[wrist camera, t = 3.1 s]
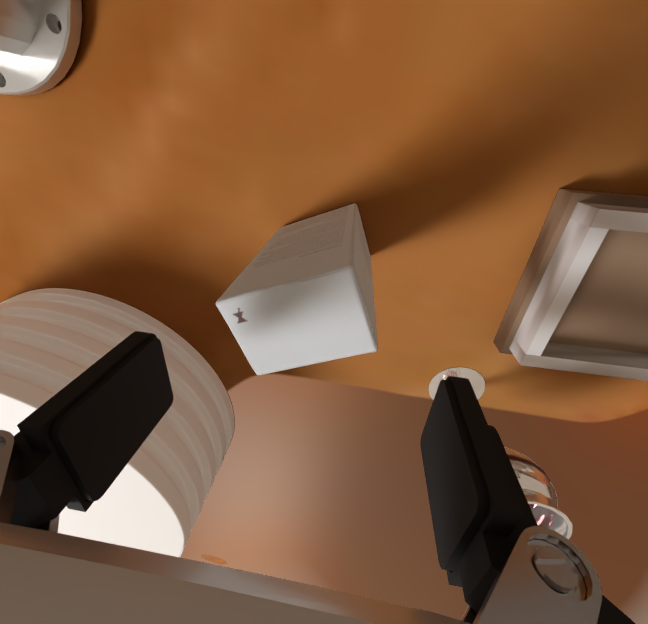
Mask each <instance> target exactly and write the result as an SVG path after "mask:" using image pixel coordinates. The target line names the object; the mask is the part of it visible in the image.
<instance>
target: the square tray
mask: <svg viewBox="0 0 648 624" xmlns="http://www.w3.org/2000/svg"><path fill="white" fill-rule="evenodd" d="M494 343H495V345H496V347H497V348H498V350H499V352H500V353H505V354H513V355H514V356H515V358H516V359H517V361H518V362H519V364H520V365H523V366H531V367H539V368H547V369H555V370H563V371H571V372H579V373H587V374H595V375H603V376H611V377H619V378H627V379H635V380H643V381H648V196H637V195H626V194H614V193H603V192H592V191H580V190H569V189H559V191H558V193H557V195H556V198H555V200H554V202H553V205H552V207H551V209H550V212H549V214H548V216H547V219H546V221H545V223H544V226H543V228H542V230H541V232H540V235H539V237H538V239H537V242H536V244H535V246H534V249H533V251H532V253H531V256H530V258H529V260H528V263H527V265H526V267H525V270H524V272H523V274H522V277H521V279H520V281H519V284H518V286H517V288H516V291H515V293H514V295H513V298H512V300H511V302H510V305H509V307H508V309H507V312H506V314H505V316H504V319H503V321H502V323H501V326H500V328H499V330H498V333H497V335H496V337H495V339H494Z"/></svg>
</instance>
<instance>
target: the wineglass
mask: <svg viewBox="0 0 648 624" xmlns="http://www.w3.org/2000/svg"><path fill="white" fill-rule="evenodd" d="M448 376H454V377H461V378H467V379H469V381H470V383H471V385H472V387H473V390H474V392H475V395H476V397H477V400H478V399H479V398H480V397H481V395H482V394H483V393H484V390H485V380H484V379H483V377H482V376H481V374H479V373H478V372H476V371H475V370H472V369H469V368H463V367H456V368H450V369H446V370H444V371H442V372H440V373H438V374H437V375H436V376H435V377H433V379H432V380H431V382H430V384H429V389H428V390H429V394H430V396H431V397H432V399H433V400H434V397H435V395H436V392H437V389H438V386H439V383H440V381H441V380H442V379H443V380H446V379H447V377H448ZM504 448H505V450H506V453H507V455H508V457H509V460H510V462H511V464H512V467H513V469H514V471H515V474H516V476H517V478H518V481H519V483H520V485H521V487H522V490H523V492H524V494H525V497H526V499H527V501H528V504H529V506H530V508H531V511H532V513H533V515H534V518H535V520H536V522H537V525H538V526H541V527H546V528H549V529H551V530H554V531H556V532H558V533H559V534H561V535H563V536H564V537H566V538H567V539H569V538H570V536H571V535H572V523H571V522H570V520H569V519H568V517H567V516H566V515H565V514H563V513H562V512H561V511H559V510H558V509H557V496H556V492H555V489H554V487H553V486H552V484H551V483H550V480H549V478H548V477H547V475H546V474H545V472H544V471H543V470H542V469H541V468H540V467H539V466H537V465H536V464H535V463H534V462H533V461H532V460H531V459H529V458H528V457H526V456H525V455H523V454H522V453H519V452H517V451H514V450H511V449H508V448H506V447H504Z"/></svg>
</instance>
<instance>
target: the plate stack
mask: <svg viewBox="0 0 648 624" xmlns="http://www.w3.org/2000/svg"><path fill="white" fill-rule="evenodd" d="M135 331H140V332H147V333H153V334H155V335H156V336H157V338H158V339H159V340H160V341H161V344H162V349H163V353H164V357H165V362H166V366H167V370H168V375H169V379H170V383H171V387H172V392H173V397H174V398H173V403H172V405H171V407H170V408H169V409H168V411H167V412H166V413H165V415H164V416H163V417H162V419H161V420H160V421H159V423H158V424H157V425H156V427H155V428H154V429H153V431H152V432H151V433H150V434H149V436H148V437H147V438H146V440H145V441H144V442H143V444H142V445H141V446H140V448H139V449H138V450H137V452H136V453H135V454H134V455H133V457H132V458H131V459H130V461H129V462H128V463H127V465H126V466H125V467H124V469H123V470H122V471H121V473H120V474H119V475H118V477H117V478H116V479H115V480H114V482H113V483H112V484H111V486H110V487H109V488H108V490H107V491H106V492H105V494H104V495H103V496H102V497H101V498H100V499H99V500H97V501H94V502H93V503H92V505H91V506H90V507H89V509H88V510H87V511H86V512H82V511H77V510H72V509H68V508H67V506H66V507H65V508H64V509H63V510H62V512H61V513H60V514H59V525H58V533H61V534H66V535H71V536H76V537H81V538H86V539H91V540H96V541H101V542H106V543H111V544H116V545H121V546H126V547H131V548H136V549H141V550H146V551H151V552H156V553H160V554H165V555H170V556H175V557H180V556H181V554H182V553H183V550H184V548H185V546H186V543H187V541H188V539H189V536H190V533H191V529H192V528H193V526H194V525H195V523H196V521H197V518H198V516H199V514H200V512H201V509H202V506H203V503H204V500H205V499H206V497H207V495H208V493H209V491H210V489H211V486H212V484H213V481H214V478H215V476H216V474H217V472H218V470H219V468H220V465H221V463H222V461H223V459H224V455H225V454H226V452H227V450H228V447H229V445H230V443H231V440H232V438H233V434H234V428H235V417H234V410H233V406H232V402H231V400H230V397H229V394H228V392H227V391H226V389H225V387H224V385H223V384H222V382H221V380H220V379H219V377H218V375H217V374H216V373H215V371H214V370H213V369H212V367H211V366H210V365H209V363H208V362H207V361H206V360H205V359H204V358H203V357H202V356H201V354H200V353H199V352H198V351H197V350H196V349H195V348H193V347H192V346H191V345H190V344H189V343H188V342H187V341H186V340H184V339H183V338H182V337H181V336H180V335H178V334H177V333H176V332H174V331H173V330H172V329H170V328H169V327H167V326H166V325H164V324H163V323H161V322H160V321H158V320H156V319H155V318H153V317H151V316H150V315H148V314H146V313H144V312H142V311H140V310H138V309H136V308H134V307H132V306H130V305H127V304H125V303H123V302H120V301H117V300H115V299H112V298H109V297H106V296H103V295H99V294H95V293H91V292H86V291H81V290H75V289H65V288H46V289H37V290H32V291H28V292H24V293H22V294H19V295H17V296H14V297H12V298H10V299H8V300H6V301H4V302H2V303H0V430H5V431H8V432H11V434H12V435H13V436H15V435H16V434H17V433H18V432H20V430H19V428H18V427H17V425H18V424H19V423H20V422H21V421H23V420H24V419H25V418H26V417H28V416H29V415H30V414H31V413H33V412H34V411H35V410H36V409H38V408H39V407H40V406H41V405H43V404H44V403H45V402H46V401H48V400H49V399H50V398H51V397H53V396H54V395H55V394H57V393H58V392H59V391H60V390H62V389H63V388H64V387H65V386H67V385H68V384H69V383H70V382H72V381H73V380H74V379H75V378H77V377H78V376H79V375H80V374H82V373H83V372H84V371H85V370H87V369H88V368H89V367H90V366H92V365H93V364H94V363H95V362H97V361H98V360H99V359H100V358H102V357H103V356H104V355H105V354H107V353H108V352H109V351H110V350H112V349H113V348H114V347H115V346H117V345H118V344H119V343H120V342H122V341H123V340H124V339H125V338H127V337H128V336H129V335H130V334H132V333H133V332H135Z"/></svg>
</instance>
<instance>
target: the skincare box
mask: <svg viewBox="0 0 648 624" xmlns="http://www.w3.org/2000/svg"><path fill="white" fill-rule="evenodd" d="M216 306H217V308H218V309H219V311H220V313H221V314H222V316H223V318H224V319H225V321H226V323H227V324H228V326H229V328H230V330H231V331H232V333H233V335H234V337H235V338H236V340H237V342H238V344H239V346H240V347H241V349H242V351H243V353H244V355H245V356H246V358H247V360H248V362H249V363H250V365H251V367H252V368H253V370H254V371H255V373H256V374H257V375H264V374H268V373H273V372H278V371H283V370H288V369H292V368H297V367H302V366H307V365H311V364H316V363H321V362H326V361H330V360H335V359H340V358H345V357H350V356H355V355H359V354H365V353H370V352H375V351H377V350H378V341H377V329H376V317H375V305H374V293H373V280H372V268H371V256H370V252H369V248H368V245H367V241H366V237H365V233H364V229H363V225H362V221H361V217H360V214H359V210H358V207H357V204H355V203H354V204H351V205H348V206H344V207H341V208H338V209H335V210H332V211H329V212H326V213H323V214H320V215H317V216H314V217H311V218H308V219H305V220H302V221H299V222H296V223H292V224H289V225H287V226H283V227H280V228H279V230H278V231H277V232H276V233H275V234H274V235H273V236H272V238H271V239H270V240H269V241H268V242H267V243H266V245H265V246H264V247H263V248H262V249H261V250H260V252H259V253H258V254H257V255H256V256H255V257H254V259H253V260H252V261H251V262H250V263H249V264H248V265H247V266H246V268H245V269H244V270H243V271H242V272H241V274H240V275H239V276H238V277H237V278H236V279H235V280H234V281H233V282H232V284H231V285H230V286H229V287H228V288H227V289H226V291H225V292H224V293H223V294H222V295H221V297H220V298H219V299H218V300H217V301H216Z"/></svg>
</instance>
